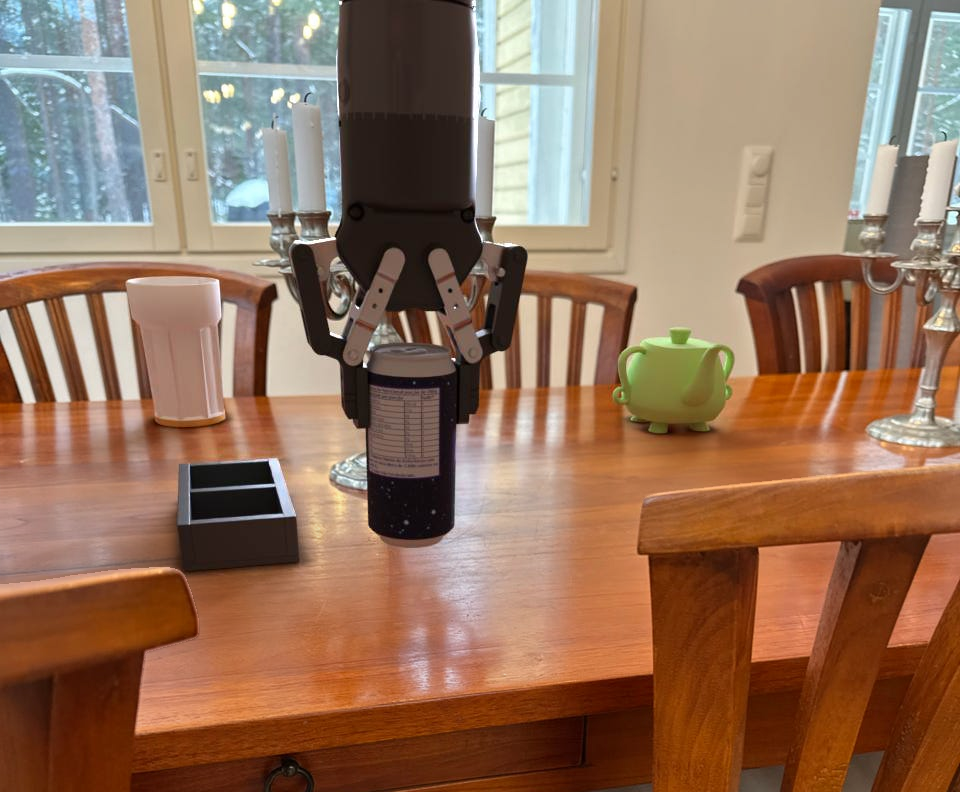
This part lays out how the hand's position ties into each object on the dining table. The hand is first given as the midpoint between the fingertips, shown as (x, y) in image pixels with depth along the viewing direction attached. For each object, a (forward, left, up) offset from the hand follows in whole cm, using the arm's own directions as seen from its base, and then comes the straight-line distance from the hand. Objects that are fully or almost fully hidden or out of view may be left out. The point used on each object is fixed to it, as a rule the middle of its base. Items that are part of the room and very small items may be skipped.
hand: (410, 422), depth 56 cm
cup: (-15, +71, -16) cm, 75 cm away
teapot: (+48, +54, -16) cm, 74 cm away
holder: (-11, +26, -16) cm, 33 cm away
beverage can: (0, 0, -8) cm, 8 cm away
